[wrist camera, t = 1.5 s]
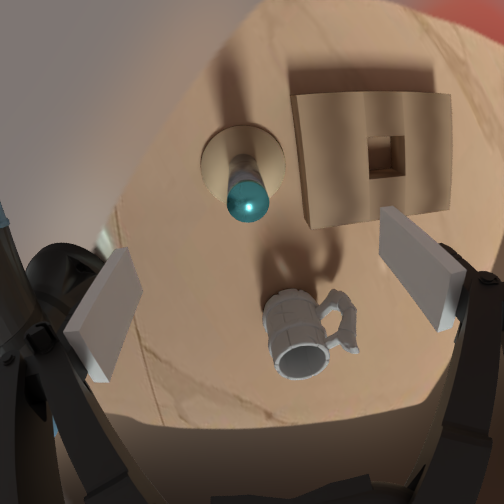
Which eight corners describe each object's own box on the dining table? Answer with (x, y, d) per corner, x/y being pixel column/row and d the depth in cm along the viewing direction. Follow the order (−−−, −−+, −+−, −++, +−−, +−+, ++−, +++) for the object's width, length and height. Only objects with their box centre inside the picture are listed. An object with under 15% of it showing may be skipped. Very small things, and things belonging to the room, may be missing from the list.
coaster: (209, 211, 36) (209, 213, 35) (194, 133, 32) (193, 134, 31) (289, 199, 35) (289, 200, 35) (279, 119, 31) (279, 120, 31)
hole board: (304, 217, 37) (310, 229, 33) (290, 95, 30) (296, 95, 27) (435, 200, 36) (449, 209, 33) (434, 92, 30) (450, 94, 27)
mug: (250, 305, 42) (256, 373, 31) (329, 259, 39) (360, 319, 29) (279, 339, 45) (291, 405, 34) (352, 299, 42) (383, 360, 32)
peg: (231, 182, 34) (230, 225, 23) (226, 156, 32) (223, 186, 22) (259, 178, 34) (271, 219, 23) (255, 151, 32) (266, 179, 22)
